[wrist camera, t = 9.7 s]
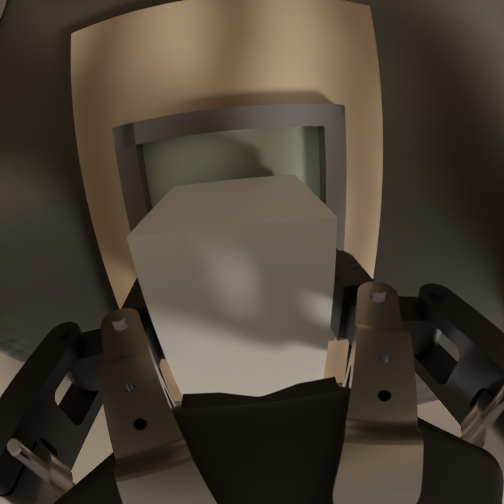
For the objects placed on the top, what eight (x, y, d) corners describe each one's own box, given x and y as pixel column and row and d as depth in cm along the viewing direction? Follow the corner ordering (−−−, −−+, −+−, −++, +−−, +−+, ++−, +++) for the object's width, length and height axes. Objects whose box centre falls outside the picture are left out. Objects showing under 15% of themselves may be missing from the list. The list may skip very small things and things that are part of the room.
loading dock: (347, 20, 12) (378, -1, 8) (340, 354, 22) (355, 388, 19) (94, 44, 11) (61, 29, 7) (166, 373, 22) (160, 410, 18)
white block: (289, 169, 12) (337, 216, 6) (293, 299, 15) (320, 398, 9) (179, 180, 12) (126, 237, 6) (202, 307, 15) (187, 408, 9)
